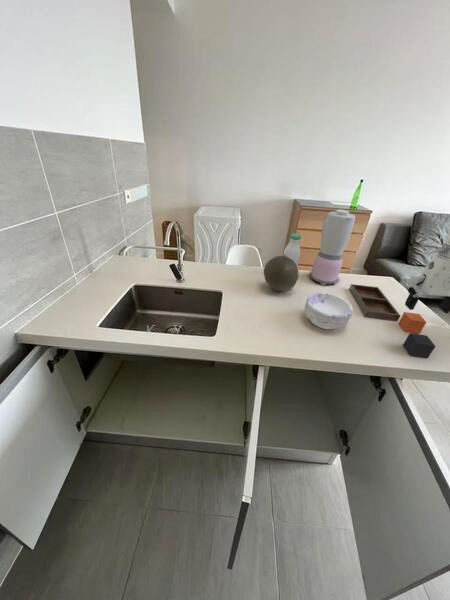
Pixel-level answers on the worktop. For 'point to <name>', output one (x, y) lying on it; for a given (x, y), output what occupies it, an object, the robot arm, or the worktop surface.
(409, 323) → the orange cube
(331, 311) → the paper bowls
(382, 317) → the holder
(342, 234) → the blender
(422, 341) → the black cube
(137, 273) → the worktop surface
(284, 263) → the dark brown ball
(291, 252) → the milk bottle
